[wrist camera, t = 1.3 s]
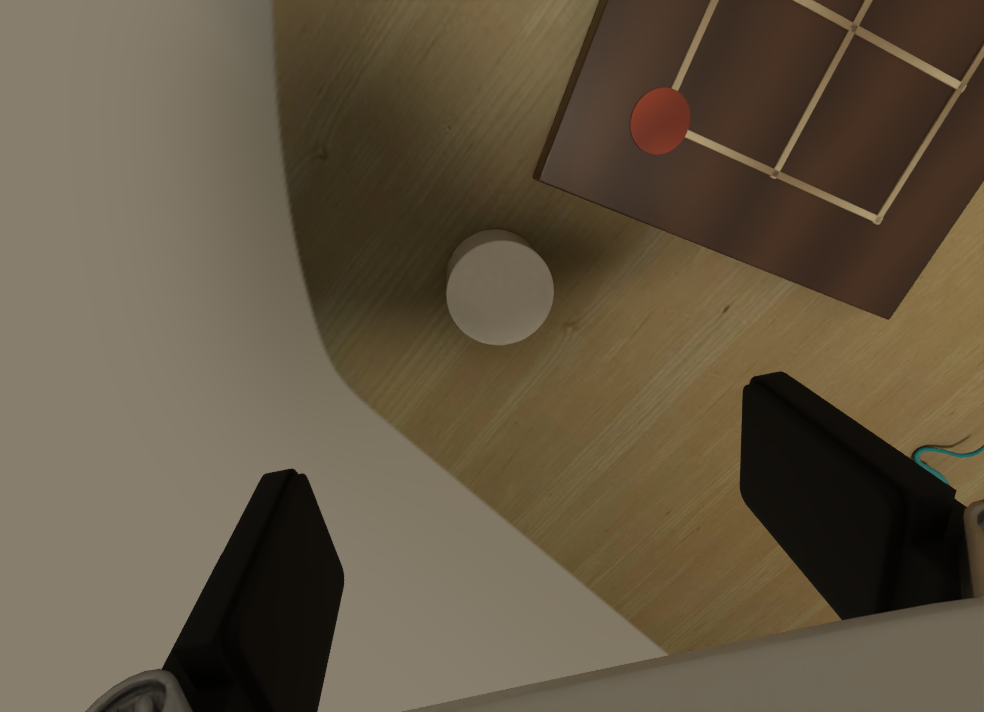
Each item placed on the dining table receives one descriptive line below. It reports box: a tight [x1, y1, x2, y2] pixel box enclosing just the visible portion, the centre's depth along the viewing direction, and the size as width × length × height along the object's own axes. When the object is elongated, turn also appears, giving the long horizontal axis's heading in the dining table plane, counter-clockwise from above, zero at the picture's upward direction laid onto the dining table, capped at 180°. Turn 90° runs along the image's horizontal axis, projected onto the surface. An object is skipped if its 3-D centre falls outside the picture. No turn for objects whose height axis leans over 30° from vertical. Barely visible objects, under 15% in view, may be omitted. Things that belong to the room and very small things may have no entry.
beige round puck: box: [446, 229, 554, 345], centre depth 24 cm, size 5×5×3 cm
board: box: [533, 0, 984, 320], centre depth 22 cm, size 20×20×2 cm
